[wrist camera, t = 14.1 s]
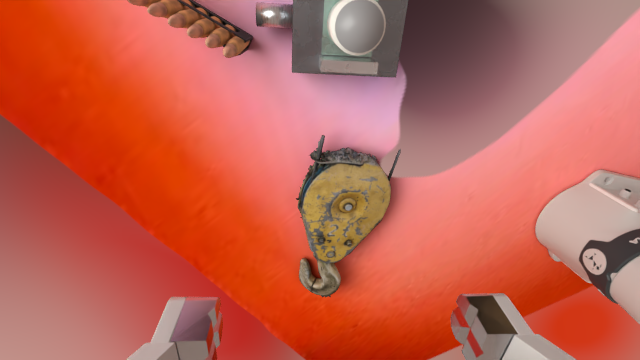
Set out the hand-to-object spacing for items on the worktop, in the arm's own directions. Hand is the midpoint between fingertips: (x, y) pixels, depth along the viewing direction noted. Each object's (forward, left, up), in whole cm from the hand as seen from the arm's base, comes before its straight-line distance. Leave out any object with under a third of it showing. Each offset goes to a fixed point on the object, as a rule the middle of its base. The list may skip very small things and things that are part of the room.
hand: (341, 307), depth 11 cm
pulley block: (-5, +23, -38) cm, 44 cm away
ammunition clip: (+12, -6, -38) cm, 40 cm away
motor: (-2, -7, -37) cm, 38 cm away
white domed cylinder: (-4, -7, -31) cm, 32 cm away
